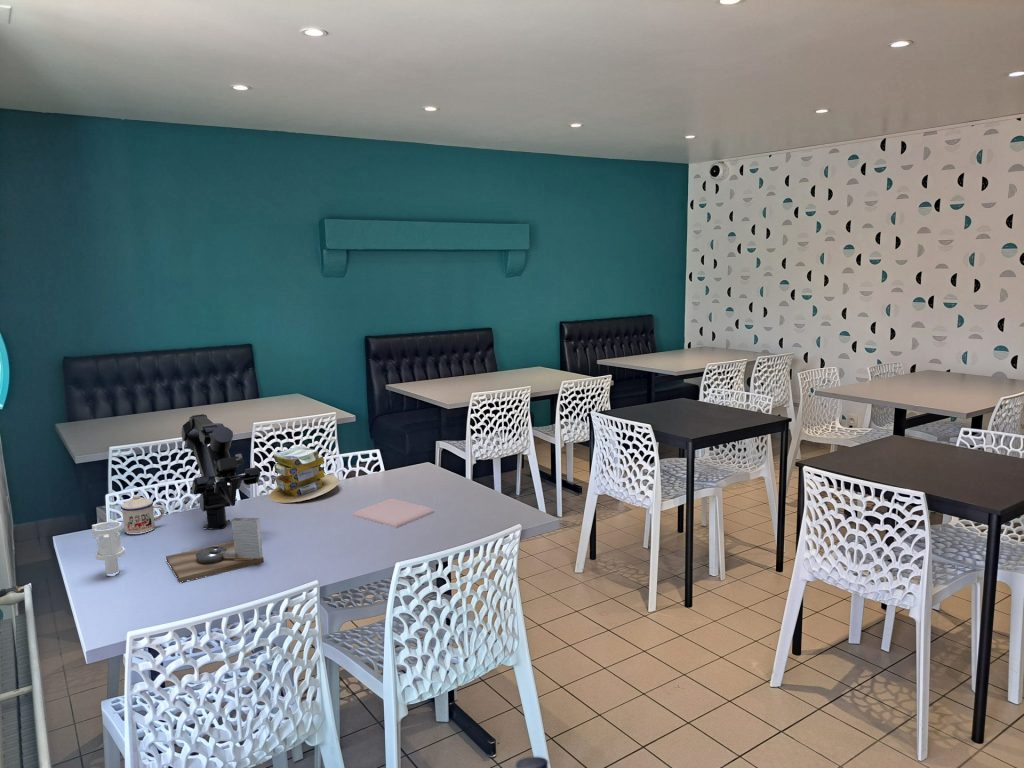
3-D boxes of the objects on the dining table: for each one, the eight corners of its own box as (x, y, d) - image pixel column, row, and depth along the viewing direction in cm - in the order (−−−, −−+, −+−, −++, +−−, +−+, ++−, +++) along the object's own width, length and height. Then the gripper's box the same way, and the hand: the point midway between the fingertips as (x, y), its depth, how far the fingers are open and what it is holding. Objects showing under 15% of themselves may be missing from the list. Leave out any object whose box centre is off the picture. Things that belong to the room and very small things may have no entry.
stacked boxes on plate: (276, 508, 253) (272, 461, 250) (263, 489, 274) (260, 445, 271) (347, 496, 264) (344, 451, 261) (329, 479, 285) (327, 437, 283)
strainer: (94, 574, 201) (88, 522, 199) (122, 566, 206) (116, 515, 203) (102, 582, 196) (96, 528, 194) (130, 573, 201) (125, 521, 198)
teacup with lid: (125, 538, 227) (121, 502, 226) (122, 529, 235) (118, 494, 233) (167, 530, 234) (163, 494, 232) (163, 521, 241) (160, 487, 239)
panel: (375, 498, 264) (374, 492, 263) (444, 515, 244) (444, 509, 244) (294, 527, 236) (293, 520, 236) (365, 550, 216) (364, 542, 216)
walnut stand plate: (166, 561, 209) (165, 556, 209) (245, 543, 222) (245, 538, 221) (180, 583, 195) (179, 577, 194) (263, 562, 207) (263, 557, 207)
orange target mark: (234, 560, 205) (234, 558, 205) (236, 558, 207) (236, 557, 206) (252, 560, 205) (251, 559, 205) (253, 558, 206) (253, 557, 206)
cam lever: (190, 563, 203) (187, 524, 201) (204, 551, 210) (201, 514, 209) (255, 563, 201) (252, 524, 200) (266, 552, 209) (263, 514, 207)
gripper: (190, 451, 212) (203, 498, 205) (256, 441, 222) (270, 485, 215) (186, 471, 219) (198, 517, 212) (250, 460, 230) (264, 503, 223)
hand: (233, 505), depth 216 cm, fingers closed
